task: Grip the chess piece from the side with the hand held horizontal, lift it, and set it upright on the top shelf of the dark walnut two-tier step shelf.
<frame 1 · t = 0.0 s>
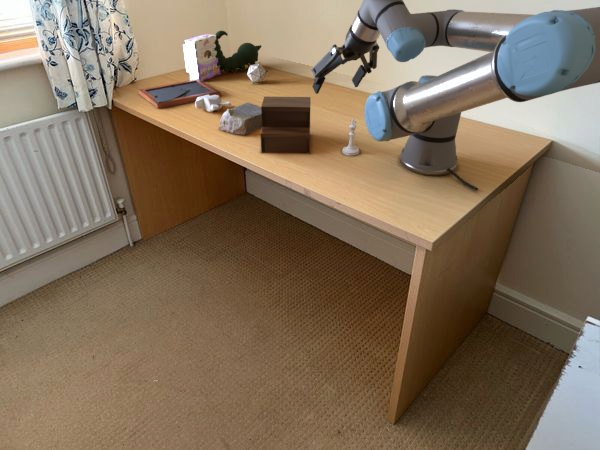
hand: (335, 86, 128), 15 cm above the table, tool tilted 35°, fingers open, 13 cm apart
toy figurine: (239, 70, 197), on the table, touching candy box
geological specimen: (246, 127, 142), on the table
ink cartridge box: (198, 72, 195), on the table
candy box: (205, 78, 188), on the table, touching toy figurine
picture frame: (179, 95, 169), on the table
chess piece: (350, 152, 127), on the table
step shelf: (286, 143, 131), on the table
bunny figurine: (212, 110, 155), on the table
game die: (257, 83, 182), on the table
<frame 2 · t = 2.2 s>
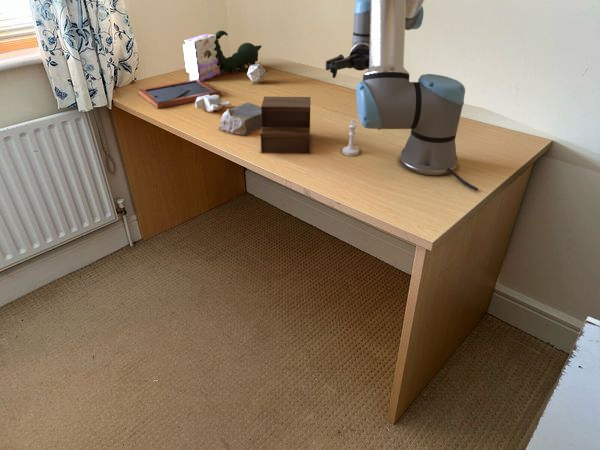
hand: (357, 74, 123), 20 cm above the table, tool horizontal, fingers open, 13 cm apart
nothing on the table moved.
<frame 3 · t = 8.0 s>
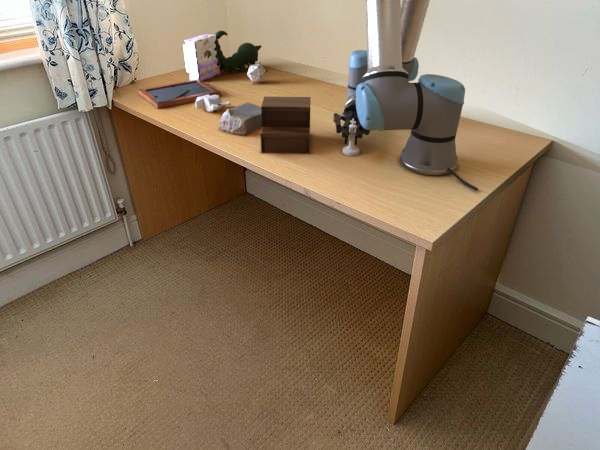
hand: (351, 140, 119), 6 cm above the table, tool horizontal, fingers closed on chess piece, 2 cm apart
chess piece: (350, 152, 127), on the table, touching gripper
everything else where it was.
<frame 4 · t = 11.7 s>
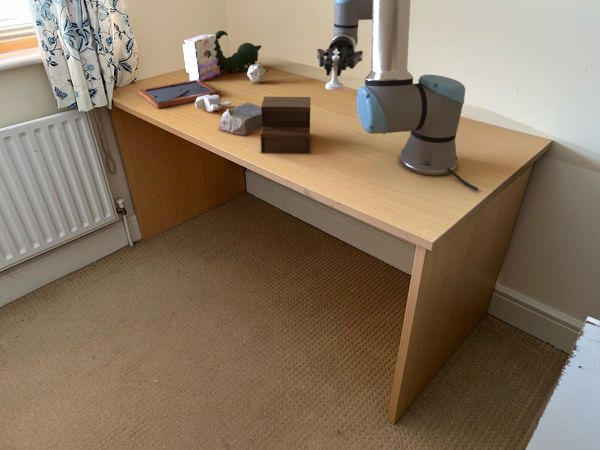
hand: (333, 70, 111), 24 cm above the table, tool horizontal, fingers closed on chess piece, 2 cm apart
chess piece: (334, 88, 119), point 18 cm above the table, touching gripper
everything else where it was.
when the fingers open (18 cm above the table, at t = 15.6 s): chess piece stays where it is, resting on step shelf.
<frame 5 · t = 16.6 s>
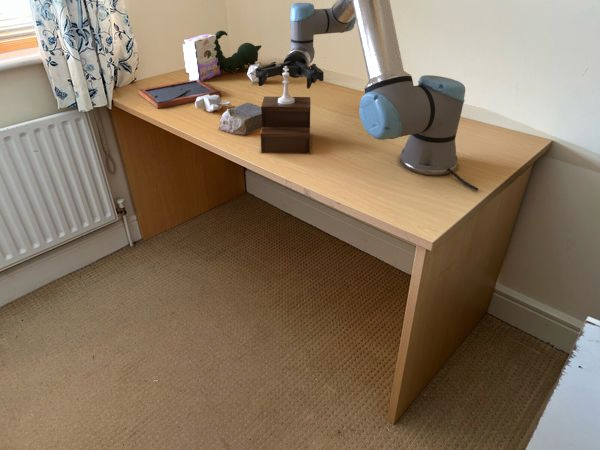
hand: (283, 82, 120), 19 cm above the table, tool horizontal, fingers open, 13 cm apart
chess piece: (286, 102, 127), point 12 cm above the table, touching step shelf
everything else where it was.
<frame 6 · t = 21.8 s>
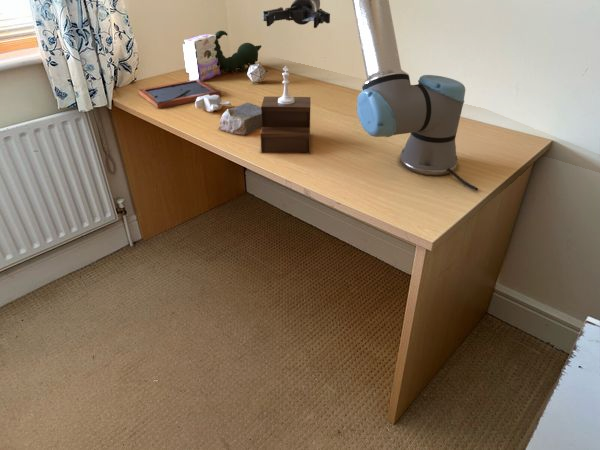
hand: (291, 21, 122), 32 cm above the table, tool horizontal, fingers open, 13 cm apart
candy box: (205, 77, 188), on the table, touching toy figurine
everything else where it was.
at the end: chess piece inside the target area on the step shelf (0.1 cm from its centre), point 11.8 cm above the step shelf's base; chess piece tilted 0°; the gripper is holding nothing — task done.
